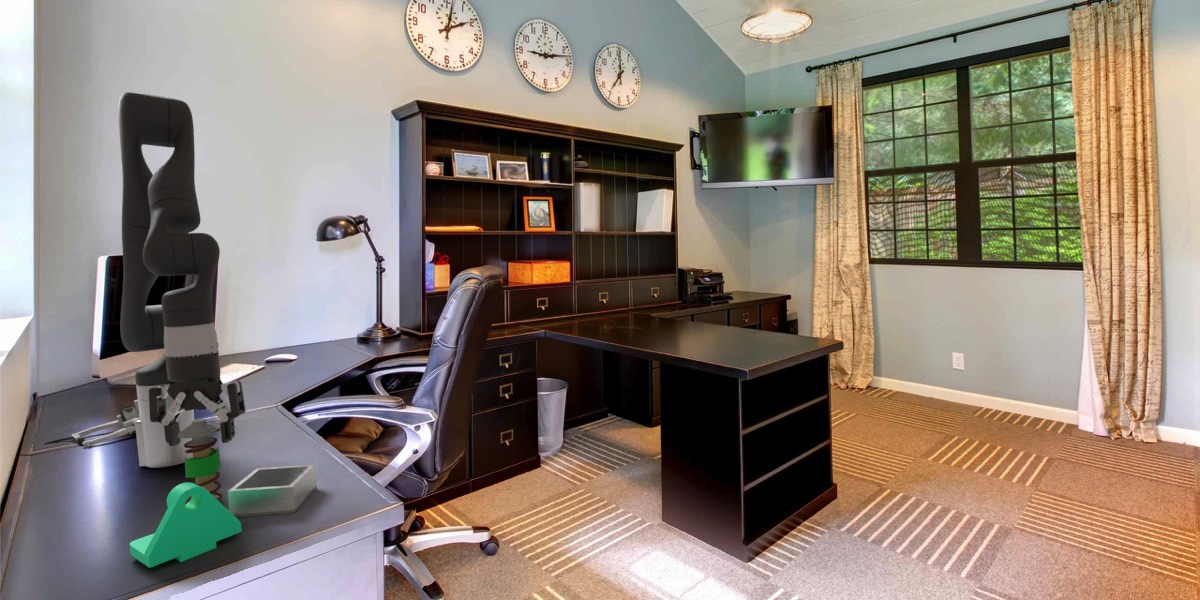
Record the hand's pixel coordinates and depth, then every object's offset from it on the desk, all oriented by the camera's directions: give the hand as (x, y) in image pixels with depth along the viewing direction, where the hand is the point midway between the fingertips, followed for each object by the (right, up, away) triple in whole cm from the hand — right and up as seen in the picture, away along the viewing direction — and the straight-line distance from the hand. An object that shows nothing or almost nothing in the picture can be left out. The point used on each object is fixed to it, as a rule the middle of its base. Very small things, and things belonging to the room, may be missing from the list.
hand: (201, 443), depth 103 cm
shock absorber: (0, -11, +1) cm, 11 cm away
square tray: (+12, -11, +1) cm, 16 cm away
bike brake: (-51, -9, +41) cm, 66 cm away
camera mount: (+7, -13, -14) cm, 20 cm away
